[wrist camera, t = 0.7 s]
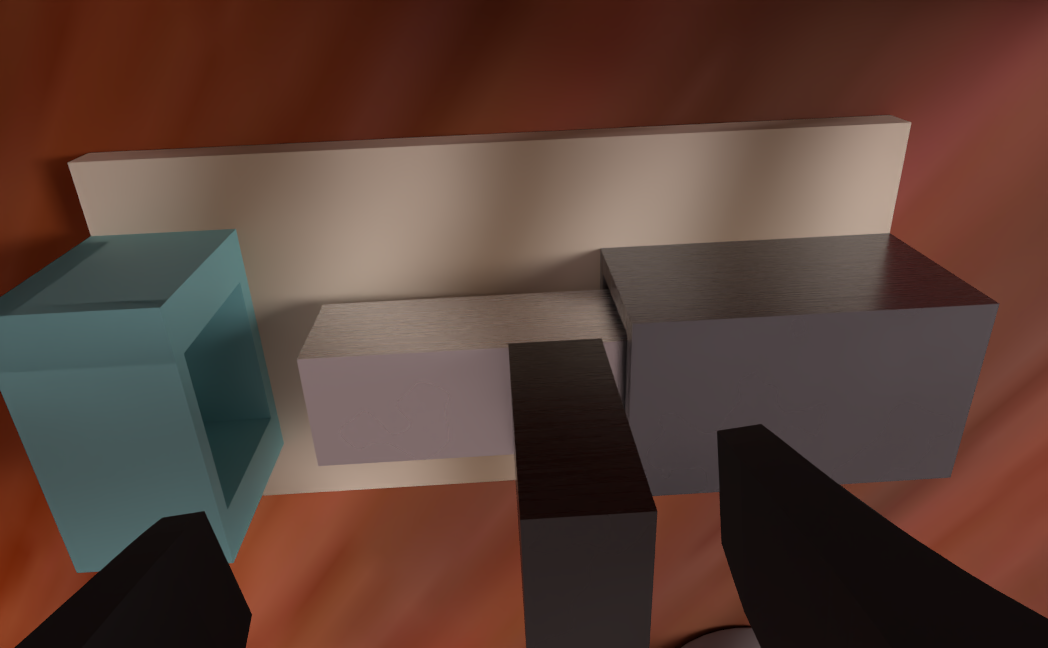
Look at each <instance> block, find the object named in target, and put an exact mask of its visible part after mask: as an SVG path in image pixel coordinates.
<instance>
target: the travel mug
mask: <svg viewBox="0 0 1048 648" xmlns="http://www.w3.org/2000/svg"><path fill="white" fill-rule="evenodd" d="M681 648H761V647H760V645H759V643H758V640H757V638H756V636H755V634H754V632H753V630H752V628H732V629H726V630H720V631H717V632H713V633H710V634H707V635H704V636H701V637H699V638H697V639H695V640H693V641H690V642H689V643H687V644H685V645H684V646H682V647H681Z"/></svg>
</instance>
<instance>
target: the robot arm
mask: <svg viewBox="0 0 1048 648" xmlns="http://www.w3.org/2000/svg"><path fill="white" fill-rule="evenodd" d="M717 445H718V469H719V493H720V516H721V540H722V546H723V549H724V552H725V555H726V558H727V561H728V564H729V567H730V570H731V574H732V577H733V580H734V583H735V586H736V589H737V591H738V594H739V597H740V600H741V603H742V606H743V609H744V612H745V614H746V616H747V618H748V621H749V623H750V625H751V627H752V630H753V632H754V634H755V636H756V638H757V640H758V643H759V645H760V647H761V648H1048V619H1047V618H1045V617H1044V616H1042V615H1040V614H1038V613H1037V612H1035V611H1033V610H1031V609H1029V608H1028V607H1026V606H1024V605H1022V604H1021V603H1019V602H1017V601H1015V600H1013V599H1012V598H1010V597H1008V596H1006V595H1005V594H1003V593H1001V592H999V591H997V590H996V589H994V588H992V587H991V586H989V585H987V584H986V583H984V582H982V581H981V580H979V579H977V578H976V577H974V576H972V575H971V574H969V573H967V572H966V571H964V570H963V569H961V568H959V567H958V566H956V565H955V564H953V563H952V562H950V561H949V560H947V559H945V558H944V557H942V556H941V555H939V554H938V553H936V552H935V551H933V550H932V549H930V548H928V547H927V546H925V545H924V544H922V543H921V542H919V541H918V540H916V539H915V538H913V537H912V536H910V535H909V534H907V533H906V532H904V531H903V530H901V529H900V528H898V527H897V526H896V525H894V524H893V523H891V522H890V521H889V520H887V519H886V518H884V517H883V516H882V515H880V514H879V513H878V512H876V511H875V510H873V509H872V508H871V507H869V506H868V505H866V504H865V503H864V502H862V501H861V500H860V499H858V498H857V497H855V496H854V495H853V494H851V493H850V492H849V491H847V490H846V489H845V488H843V487H842V486H841V485H839V484H838V483H837V482H835V481H834V480H833V479H832V478H830V477H829V476H828V475H826V474H825V473H824V472H822V471H821V470H820V469H819V468H817V467H816V466H815V465H813V464H812V463H811V462H810V461H808V460H807V459H806V458H804V457H803V456H802V455H801V454H799V453H798V452H797V451H796V450H794V449H793V448H792V447H791V446H789V445H788V444H787V443H785V442H784V441H783V440H782V439H780V438H779V437H778V436H777V435H775V434H774V433H773V432H771V431H770V430H769V429H767V428H766V427H765V426H763V425H762V424H757V425H750V426H744V427H738V428H731V429H725V430H719V431H717ZM251 617H252V614H251V612H250V609H249V607H248V605H247V603H246V601H245V599H244V596H243V594H242V592H241V590H240V588H239V585H238V583H237V581H236V579H235V577H234V575H233V572H232V570H231V568H230V566H229V564H228V561H227V559H226V557H225V555H224V553H223V550H222V548H221V546H220V544H219V542H218V540H217V537H216V535H215V533H214V531H213V529H212V526H211V524H210V522H209V520H208V518H207V516H206V513H205V511H201V512H195V513H188V514H182V515H176V516H169V517H163V518H161V519H160V520H158V521H157V522H156V523H155V524H153V525H152V526H151V527H150V528H148V529H147V530H146V531H145V532H143V533H142V534H141V535H140V536H139V537H138V538H136V539H135V540H134V541H133V542H132V543H131V544H129V545H128V546H127V547H126V548H125V549H124V550H123V551H122V552H120V553H119V554H118V555H117V556H116V557H115V558H114V559H113V560H111V561H110V562H109V563H108V564H107V565H106V566H105V567H104V568H103V569H101V570H100V571H99V572H98V573H97V574H96V575H95V576H94V577H93V578H92V579H90V580H89V581H88V582H87V583H86V584H85V585H84V586H83V587H82V588H81V589H79V590H78V591H77V592H76V593H75V594H74V595H73V596H72V597H71V598H69V599H68V600H67V601H66V602H65V603H64V604H63V605H62V606H60V607H59V608H58V609H57V610H56V611H55V612H54V613H53V614H52V615H50V616H49V617H48V618H47V619H46V620H45V621H44V622H43V623H42V624H40V625H39V626H38V627H37V628H36V629H35V630H34V631H33V632H32V633H30V634H29V635H28V636H27V637H26V638H25V639H24V640H23V641H21V642H20V643H19V644H18V645H17V646H16V647H15V648H246V643H247V638H248V632H249V627H250V622H251Z"/></svg>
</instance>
